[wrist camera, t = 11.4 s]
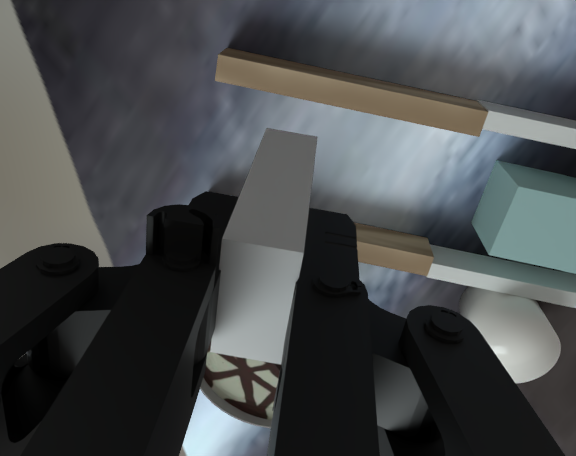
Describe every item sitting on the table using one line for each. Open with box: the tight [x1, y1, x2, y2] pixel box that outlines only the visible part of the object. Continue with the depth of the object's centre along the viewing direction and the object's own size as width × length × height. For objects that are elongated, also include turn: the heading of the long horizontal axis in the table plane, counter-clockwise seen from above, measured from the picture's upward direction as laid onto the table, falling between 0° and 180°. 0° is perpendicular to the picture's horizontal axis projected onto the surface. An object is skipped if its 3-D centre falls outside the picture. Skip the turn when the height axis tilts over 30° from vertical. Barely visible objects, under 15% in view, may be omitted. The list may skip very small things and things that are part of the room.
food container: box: [200, 339, 281, 428], centre depth 39 cm, size 12×6×10 cm, turn 30°
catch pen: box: [427, 100, 576, 308], centre depth 37 cm, size 12×16×3 cm
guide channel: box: [215, 48, 488, 276], centre depth 36 cm, size 12×17×3 cm
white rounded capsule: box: [459, 286, 561, 383], centre depth 39 cm, size 6×6×6 cm
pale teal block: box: [471, 160, 576, 271], centre depth 36 cm, size 5×5×5 cm
